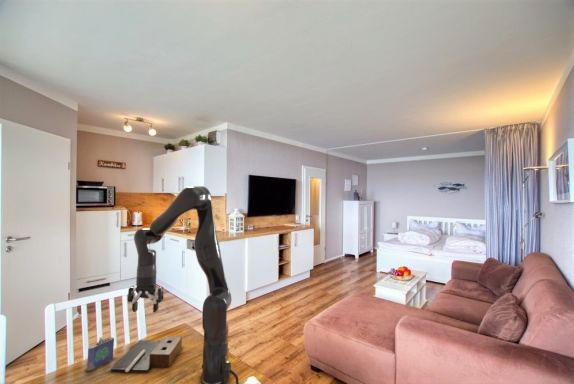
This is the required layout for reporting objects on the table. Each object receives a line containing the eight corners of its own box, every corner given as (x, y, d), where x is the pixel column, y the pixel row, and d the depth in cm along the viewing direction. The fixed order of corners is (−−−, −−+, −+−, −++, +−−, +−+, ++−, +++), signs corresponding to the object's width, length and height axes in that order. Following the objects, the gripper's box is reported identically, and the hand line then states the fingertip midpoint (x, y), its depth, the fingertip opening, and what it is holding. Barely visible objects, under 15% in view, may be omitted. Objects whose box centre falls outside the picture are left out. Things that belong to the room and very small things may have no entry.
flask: (88, 372, 99) (90, 344, 99) (84, 369, 100) (86, 342, 100) (114, 359, 107) (115, 333, 107) (110, 357, 108) (111, 331, 108)
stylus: (146, 348, 111) (128, 369, 97) (146, 352, 111) (127, 373, 97) (143, 348, 111) (124, 369, 97) (142, 351, 111) (124, 373, 97)
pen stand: (181, 348, 116) (181, 337, 116) (168, 367, 103) (169, 354, 103) (163, 347, 116) (164, 336, 116) (149, 366, 103) (149, 354, 103)
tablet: (169, 343, 120) (169, 340, 120) (146, 372, 100) (147, 369, 100) (139, 342, 119) (139, 340, 119) (110, 371, 99) (111, 369, 99)
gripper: (124, 276, 107) (123, 315, 106) (158, 277, 107) (157, 315, 106) (135, 271, 114) (133, 307, 114) (167, 271, 114) (165, 308, 114)
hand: (145, 311), depth 110 cm, fingers open, 8 cm apart
